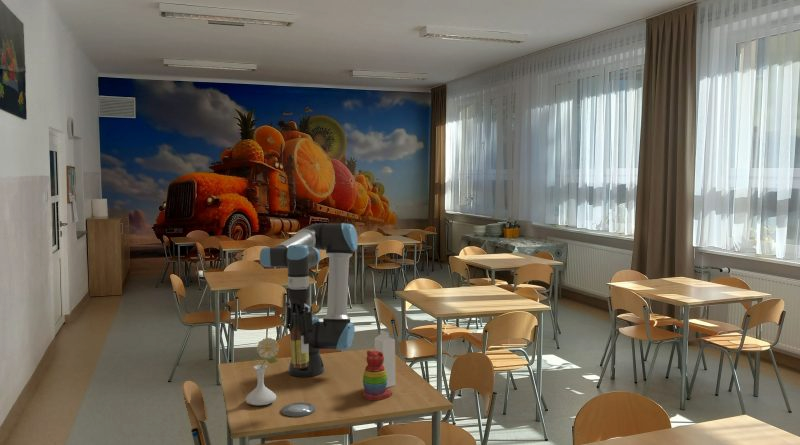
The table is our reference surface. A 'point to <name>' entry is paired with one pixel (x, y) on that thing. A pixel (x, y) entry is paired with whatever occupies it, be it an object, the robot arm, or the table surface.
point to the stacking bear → (375, 377)
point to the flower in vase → (261, 393)
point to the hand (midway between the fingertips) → (299, 350)
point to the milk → (387, 355)
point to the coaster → (298, 409)
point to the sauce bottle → (297, 345)
